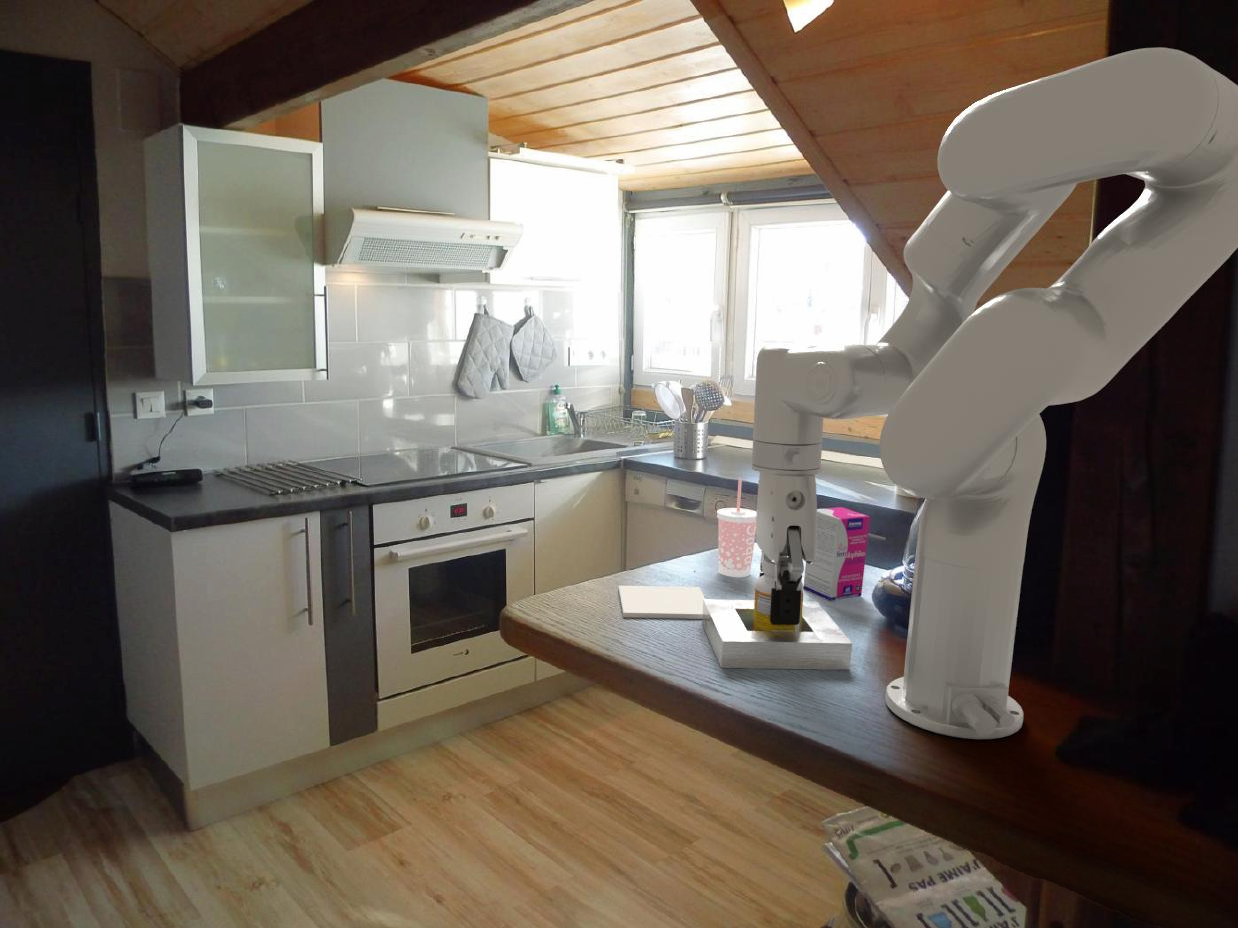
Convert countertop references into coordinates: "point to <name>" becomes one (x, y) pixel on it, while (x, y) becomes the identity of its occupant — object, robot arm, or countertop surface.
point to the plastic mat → (661, 602)
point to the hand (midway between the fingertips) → (778, 613)
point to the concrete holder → (774, 639)
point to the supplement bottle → (764, 600)
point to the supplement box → (838, 554)
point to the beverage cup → (736, 539)
